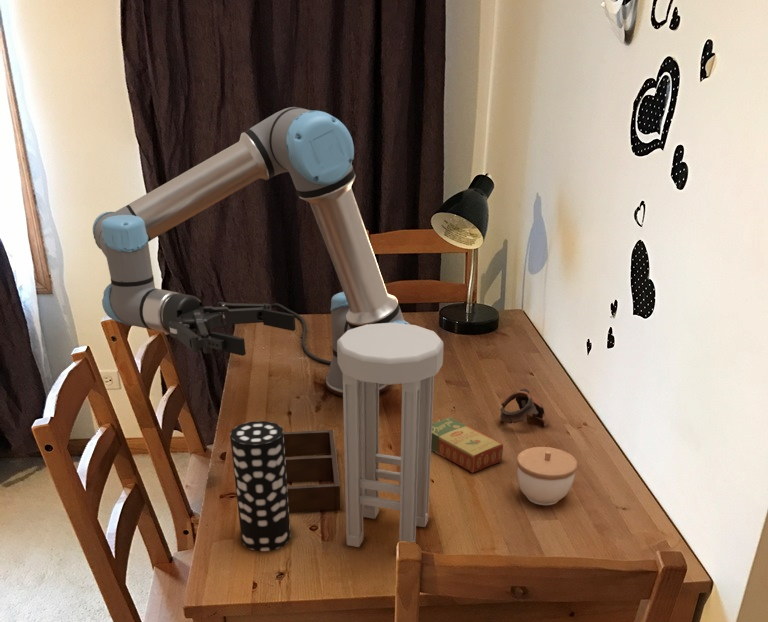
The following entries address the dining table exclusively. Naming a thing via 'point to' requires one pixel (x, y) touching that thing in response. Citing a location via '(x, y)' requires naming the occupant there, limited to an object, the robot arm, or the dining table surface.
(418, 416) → the stool
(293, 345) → the dining table surface
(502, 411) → the broken clay pot
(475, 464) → the carton
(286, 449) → the open wooden box
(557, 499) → the trinket box
